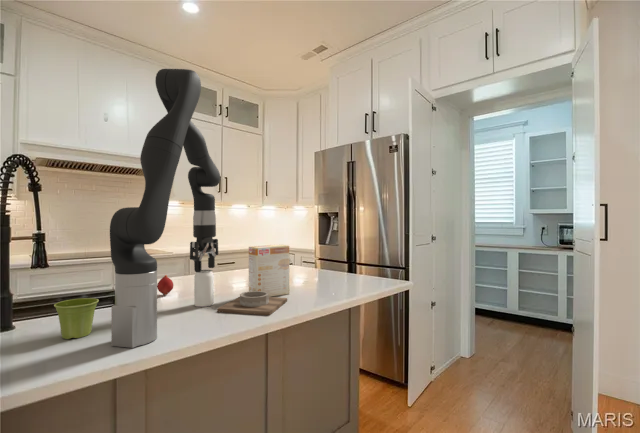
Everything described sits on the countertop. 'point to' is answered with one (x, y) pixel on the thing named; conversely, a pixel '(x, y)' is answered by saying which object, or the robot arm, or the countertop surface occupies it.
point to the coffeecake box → (269, 269)
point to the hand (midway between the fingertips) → (205, 269)
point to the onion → (165, 285)
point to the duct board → (253, 310)
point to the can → (204, 288)
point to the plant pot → (76, 317)
